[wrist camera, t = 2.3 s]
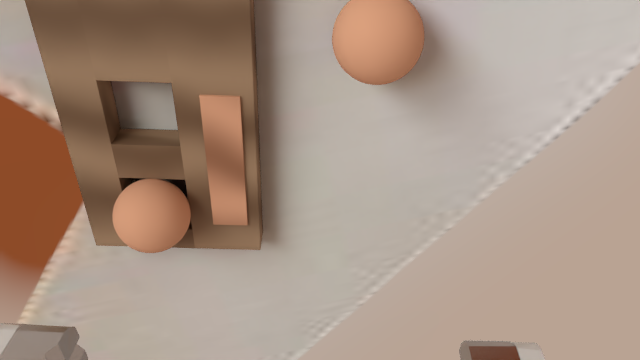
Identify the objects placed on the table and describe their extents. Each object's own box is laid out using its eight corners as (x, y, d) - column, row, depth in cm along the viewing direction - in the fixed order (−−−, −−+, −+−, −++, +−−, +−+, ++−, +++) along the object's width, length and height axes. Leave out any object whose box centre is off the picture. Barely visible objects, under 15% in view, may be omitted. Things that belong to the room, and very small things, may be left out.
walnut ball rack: (262, 231, 40) (260, 251, 38) (105, 227, 40) (95, 247, 38) (238, -393, 21) (230, -412, 19) (-67, -409, 20) (-104, -430, 19)
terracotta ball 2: (410, 64, 32) (423, 102, 28) (329, 61, 32) (330, 98, 28) (423, -20, 29) (439, 8, 25) (333, -23, 29) (335, 4, 25)
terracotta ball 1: (200, 220, 38) (186, 269, 34) (132, 218, 38) (110, 267, 34) (193, 164, 35) (176, 210, 31) (119, 162, 35) (93, 208, 31)
